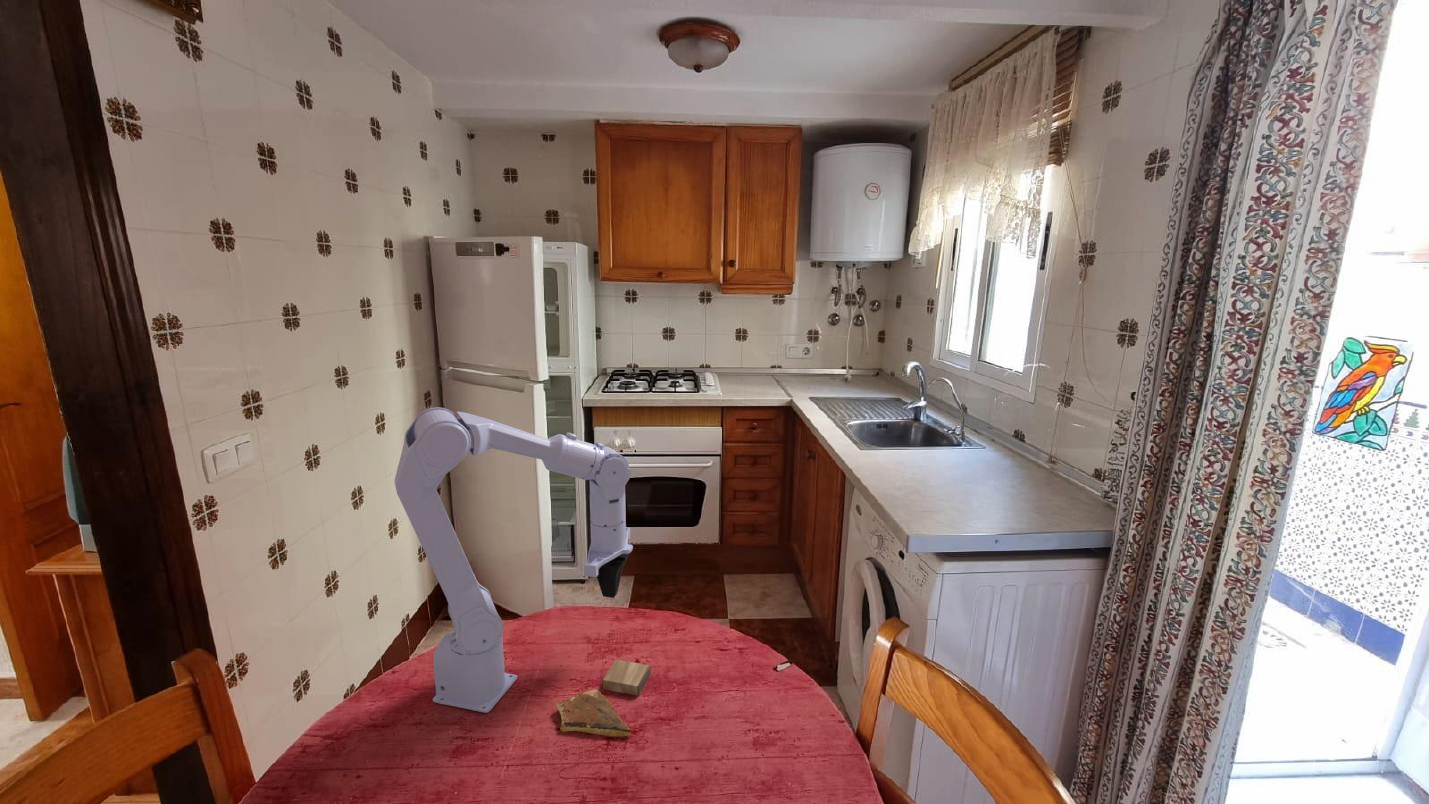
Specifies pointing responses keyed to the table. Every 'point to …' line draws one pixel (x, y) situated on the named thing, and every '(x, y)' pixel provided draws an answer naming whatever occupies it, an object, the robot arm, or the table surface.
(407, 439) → the robot arm
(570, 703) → the shard
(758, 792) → the table surface
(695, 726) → the table surface
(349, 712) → the table surface
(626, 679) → the oak slab
